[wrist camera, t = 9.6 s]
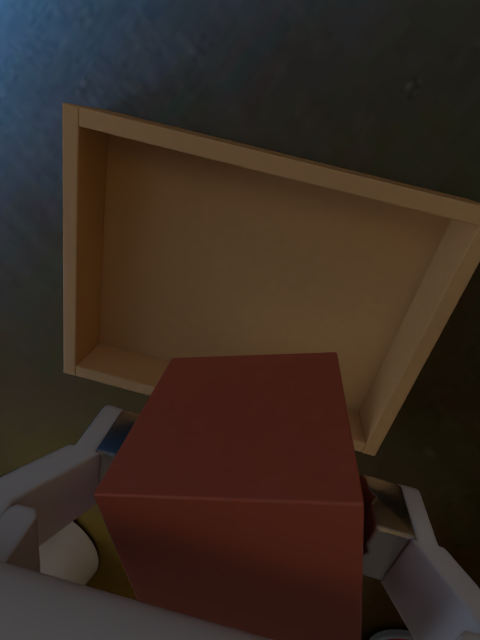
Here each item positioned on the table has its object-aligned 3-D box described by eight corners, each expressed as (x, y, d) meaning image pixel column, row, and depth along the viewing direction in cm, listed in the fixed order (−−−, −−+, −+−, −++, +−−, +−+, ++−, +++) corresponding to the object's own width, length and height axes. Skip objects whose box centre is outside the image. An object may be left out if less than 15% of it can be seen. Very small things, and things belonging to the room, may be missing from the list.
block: (199, 473, 14) (151, 636, 9) (171, 357, 12) (91, 494, 7) (339, 476, 13) (360, 658, 8) (336, 351, 11) (364, 504, 6)
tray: (92, 343, 27) (63, 373, 23) (101, 108, 20) (61, 102, 16) (364, 415, 26) (374, 456, 23) (469, 199, 19) (506, 212, 16)
